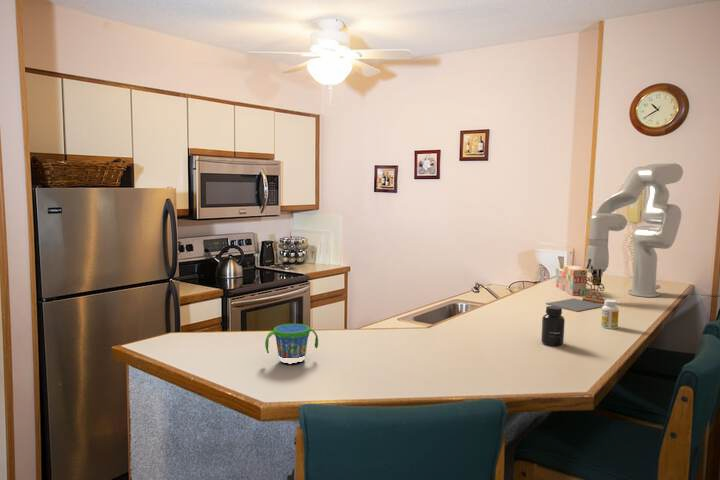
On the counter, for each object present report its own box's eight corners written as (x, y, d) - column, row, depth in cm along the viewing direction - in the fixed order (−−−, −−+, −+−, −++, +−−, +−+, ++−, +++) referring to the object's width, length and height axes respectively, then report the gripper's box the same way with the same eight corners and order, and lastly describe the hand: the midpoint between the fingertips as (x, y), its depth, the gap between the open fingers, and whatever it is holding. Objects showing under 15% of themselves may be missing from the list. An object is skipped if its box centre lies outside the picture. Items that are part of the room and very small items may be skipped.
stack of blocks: (555, 287, 266) (556, 262, 265) (568, 286, 266) (569, 262, 265) (572, 296, 245) (573, 269, 244) (586, 296, 245) (587, 269, 244)
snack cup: (315, 353, 166) (315, 321, 165) (321, 365, 156) (320, 330, 154) (264, 357, 162) (263, 325, 161) (266, 369, 152) (265, 334, 151)
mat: (573, 299, 238) (574, 298, 238) (605, 306, 224) (606, 305, 224) (545, 304, 229) (545, 303, 229) (577, 311, 215) (577, 310, 215)
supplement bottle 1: (553, 348, 169) (554, 310, 168) (536, 342, 176) (537, 306, 174) (568, 344, 173) (569, 308, 171) (551, 339, 179) (553, 304, 177)
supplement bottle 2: (617, 326, 194) (618, 299, 193) (617, 329, 189) (619, 302, 188) (601, 324, 196) (602, 298, 195) (601, 328, 191) (602, 301, 190)
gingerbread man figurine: (606, 301, 231) (607, 274, 228) (603, 304, 228) (604, 277, 225) (585, 297, 237) (585, 271, 233) (582, 300, 234) (582, 274, 231)
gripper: (602, 241, 237) (600, 282, 239) (579, 243, 230) (577, 285, 232) (617, 243, 231) (615, 284, 233) (594, 245, 223) (592, 288, 225)
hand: (596, 285), depth 232 cm, fingers closed
